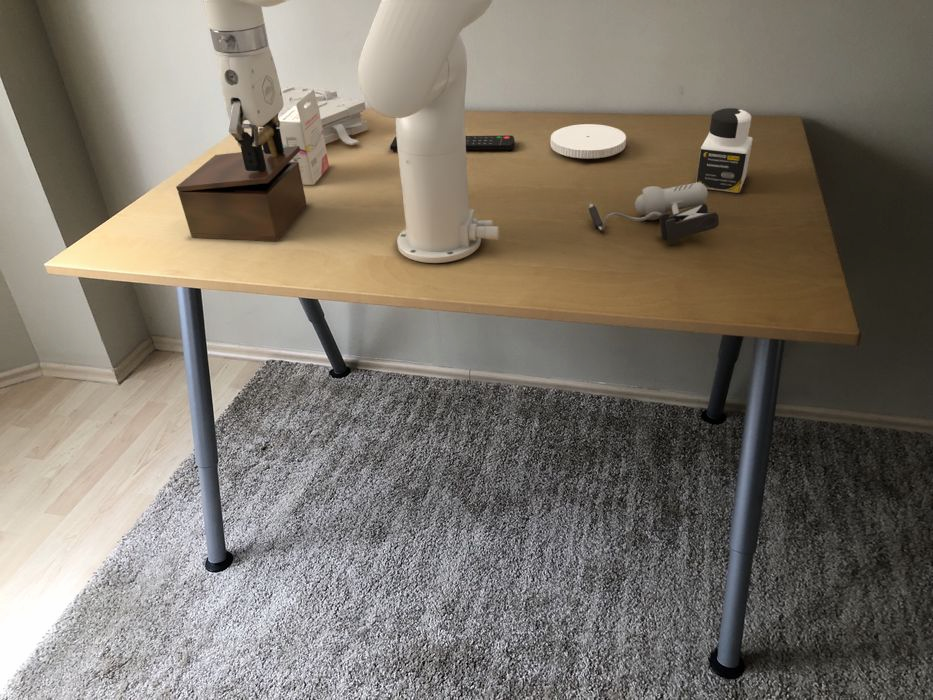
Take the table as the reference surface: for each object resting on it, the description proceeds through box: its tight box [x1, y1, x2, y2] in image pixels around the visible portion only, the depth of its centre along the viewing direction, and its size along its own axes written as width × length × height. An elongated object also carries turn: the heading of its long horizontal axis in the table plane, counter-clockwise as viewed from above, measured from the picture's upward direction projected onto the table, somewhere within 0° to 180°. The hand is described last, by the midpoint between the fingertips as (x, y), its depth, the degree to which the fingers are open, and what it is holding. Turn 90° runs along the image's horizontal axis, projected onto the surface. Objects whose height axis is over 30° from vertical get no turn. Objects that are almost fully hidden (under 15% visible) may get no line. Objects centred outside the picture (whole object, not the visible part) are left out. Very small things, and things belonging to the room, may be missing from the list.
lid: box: [175, 126, 300, 193], centre depth 113 cm, size 15×13×6 cm
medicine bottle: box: [695, 107, 754, 194], centre depth 119 cm, size 7×7×12 cm
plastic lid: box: [550, 123, 627, 160], centre depth 137 cm, size 14×14×2 cm
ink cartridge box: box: [278, 90, 330, 186], centre depth 130 cm, size 9×5×15 cm, turn 168°
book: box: [243, 84, 369, 146], centre depth 150 cm, size 19×28×8 cm
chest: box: [177, 162, 308, 242], centre depth 118 cm, size 15×13×8 cm
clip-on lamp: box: [588, 182, 720, 246], centre depth 109 cm, size 12×6×18 cm
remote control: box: [389, 135, 516, 151], centre depth 142 cm, size 5×24×1 cm, turn 83°
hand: (265, 160), depth 113 cm, fingers closed on lid, 6 cm apart
